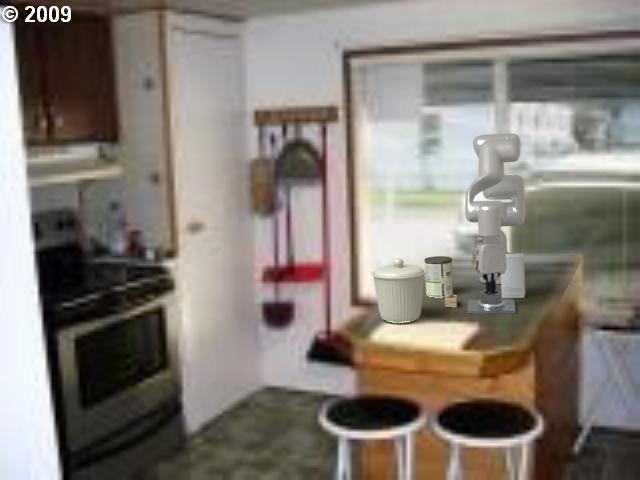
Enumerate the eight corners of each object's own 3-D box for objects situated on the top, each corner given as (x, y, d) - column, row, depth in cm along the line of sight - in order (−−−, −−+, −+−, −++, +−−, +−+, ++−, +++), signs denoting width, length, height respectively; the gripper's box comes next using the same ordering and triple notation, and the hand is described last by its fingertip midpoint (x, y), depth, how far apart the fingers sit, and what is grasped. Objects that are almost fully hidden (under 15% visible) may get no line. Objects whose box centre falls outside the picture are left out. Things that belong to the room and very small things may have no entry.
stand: (445, 303, 286) (445, 291, 285) (457, 303, 285) (456, 291, 285) (445, 307, 280) (444, 295, 279) (456, 307, 279) (456, 295, 278)
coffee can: (430, 291, 306) (428, 255, 304) (456, 292, 302) (455, 256, 299) (422, 297, 297) (420, 260, 294) (449, 299, 292) (447, 261, 290)
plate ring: (480, 299, 280) (480, 290, 279) (501, 299, 278) (501, 289, 278) (480, 304, 273) (480, 294, 272) (502, 304, 271) (501, 294, 271)
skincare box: (525, 294, 292) (525, 253, 290) (524, 298, 286) (523, 256, 284) (502, 294, 295) (501, 253, 293) (500, 298, 289) (499, 256, 287)
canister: (413, 329, 254) (411, 264, 251) (364, 324, 264) (361, 262, 261) (436, 315, 269) (434, 254, 266) (388, 311, 279) (386, 252, 276)
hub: (468, 302, 285) (468, 290, 285) (514, 302, 282) (513, 289, 281) (467, 313, 270) (467, 300, 269) (515, 313, 266) (515, 300, 266)
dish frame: (472, 260, 365) (472, 253, 364) (515, 259, 361) (515, 252, 360) (471, 268, 345) (471, 261, 344) (517, 268, 341) (517, 261, 340)
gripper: (475, 243, 266) (477, 296, 269) (514, 239, 271) (515, 291, 274) (465, 240, 273) (466, 292, 276) (503, 236, 278) (504, 287, 281)
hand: (491, 291), depth 275 cm, fingers closed
